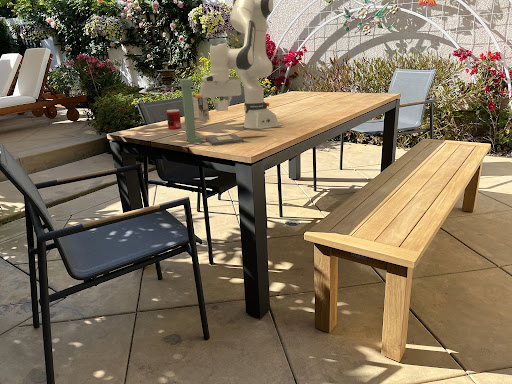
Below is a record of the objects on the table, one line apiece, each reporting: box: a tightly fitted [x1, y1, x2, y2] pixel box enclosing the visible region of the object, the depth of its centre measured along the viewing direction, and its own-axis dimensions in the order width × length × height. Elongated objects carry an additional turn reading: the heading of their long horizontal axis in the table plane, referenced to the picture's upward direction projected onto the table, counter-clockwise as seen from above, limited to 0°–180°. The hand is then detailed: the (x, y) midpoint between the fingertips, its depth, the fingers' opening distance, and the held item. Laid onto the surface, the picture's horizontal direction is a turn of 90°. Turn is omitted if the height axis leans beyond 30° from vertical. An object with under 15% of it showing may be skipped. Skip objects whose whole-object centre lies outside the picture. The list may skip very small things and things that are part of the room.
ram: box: [192, 92, 202, 118], centre depth 207 cm, size 8×6×12 cm
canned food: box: [166, 108, 182, 131], centre depth 246 cm, size 8×8×11 cm
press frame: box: [179, 78, 202, 144], centre depth 206 cm, size 7×8×31 cm
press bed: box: [205, 133, 244, 146], centre depth 208 cm, size 16×14×2 cm
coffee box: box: [192, 95, 210, 122], centre depth 271 cm, size 9×6×16 cm
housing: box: [214, 97, 229, 112], centre depth 201 cm, size 5×5×7 cm
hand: (221, 106), depth 202 cm, fingers closed on housing, 5 cm apart
